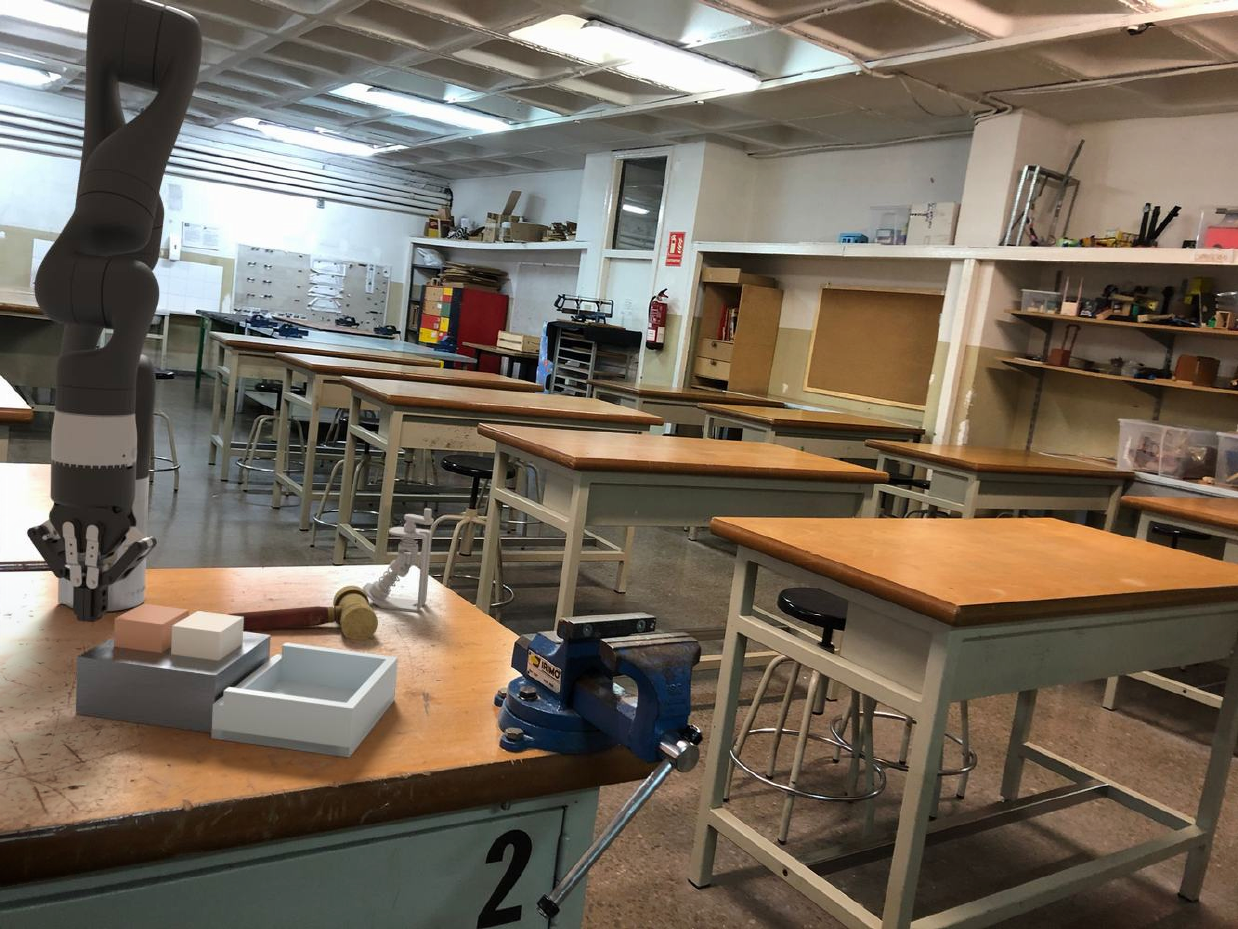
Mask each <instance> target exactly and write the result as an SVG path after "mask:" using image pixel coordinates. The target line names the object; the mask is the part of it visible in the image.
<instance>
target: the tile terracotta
mask: <svg viewBox="0 0 1238 929" xmlns="http://www.w3.org/2000/svg"><path fill="white" fill-rule="evenodd" d="M188 616H190V609H187V608H186V609H185V608H181V607H180V608H178V607H170V606H163V605H155V604H149V603H141V604H139V605H137V606H135V607H133V608H132V609H130V610H129V611H127V612H124V613H123V614H121V615H118V616H117V617H114V631H113V632H114V634H113V637H114V647H122V648H129V649H137V650H144V651H152V652H159V653H162V652H164V651H165V650H167V649H169V648H170V647H171V643H172V626H173V625H174V624H176V623H178V622H180V621H181V620H183V619H185V618H187V617H188Z"/></svg>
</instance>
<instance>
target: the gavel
mask: <svg viewBox="0 0 1238 929" xmlns="http://www.w3.org/2000/svg"><path fill="white" fill-rule="evenodd" d="M332 600H333V602H332V603H333V606H319V605H317V606H307V607H293V608H280V609H270V610H268V609H267V610H258V611H246V612H235V613H234V612H232V613H228V614H227V615H233V616H240V617H244V624H243V631H244V632H257V631H259V630H262V631H271V630H272V631H273V630H286V629H295V628H296V629H298V628H306V627H316V626H318V627H319V626H322V625H325V624H331V623H340V624H339V625H340V628H341V630H342V633H343V635H344V636H345V638H347V639H348V640H367V639H371V638H372V637H373V636H374V635H375V633H376V631H377V629H378V627H379V620H378V616H377V615H376V614H377V613H376V612H375V610H374V609H373V608H372V607H371V606H370V600H369V597H367V595H366V593H365V592H364V591H363V588H361V587H360V586H357V585H347V586H344V587H342V588H340V589H339V590H338V591H337V592H336V593H335V595H334V597H333V599H332Z"/></svg>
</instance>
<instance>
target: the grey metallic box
mask: <svg viewBox="0 0 1238 929" xmlns="http://www.w3.org/2000/svg"><path fill="white" fill-rule="evenodd" d="M271 636H272V635H271V634H266V633H256V632H252V631H244V632H243V643H242V645H240V646H239V647H237V648H236V649H235V650H233V651H232V652H230V653H229V654H228V655H226V656H225V657H223V658H222V659H220V660H219V661H218V660H211V659H203V658H196V657H189V656H181V655H174V654H171V647H170V648H169V649H167V650H165V651H164V652H162V653H159V652H152V651H144V650H137V649H129V648H122V647H114V636H113V637H111V638H109V639H108V640H106V641H104V642H102V643H100V644H98V645H96V646H94V647H93V648H90V649H89V650H87V651H85V652H83V653H81V654H80V655H77V656H76V688H75V689H76V691H75V692H76V693H75V694H76V695H75V715H78V716H84V717H91V718H93V717H94V718H100V719H109V720H114V721H120V722H121V721H122V722H128V723H129V722H130V723H136V724H137V723H138V724H142V725H149V726H150V725H151V726H156V727H157V726H158V727H165V728H171V729H179V730H186V731H187V730H188V731H194V732H201V733H208V734H212V713H213V704H214V703H215V702H216V701H218V700H219V699H220V698H221V697H223V695H224V690H225V689H227V688H228V687H233V688H234V687H235V686H237V685H238V684H239V683H240V682H242V681H243V680H244V679H246V678H247V677H248V676H249V675H251V674H252V673H253V672H254V671H256V670H257V669H258V668H260V667H261V666H262V665H263V664H265V663H266V662H267V661H268V660H270V659H271V657H270V656H271V655H270V654H271V653H270V652H271V639H272V638H271Z"/></svg>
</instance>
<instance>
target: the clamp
mask: <svg viewBox="0 0 1238 929" xmlns="http://www.w3.org/2000/svg"><path fill="white" fill-rule="evenodd" d="M432 511H433V510H432V509H431V508H427V507H425V508H424V510H423V515H419V514H418V515H417V514H414V513H406V514H404V517H403V518H404V520H405V523H404V524H403V526H394V527H391V528H390V529H389V530H388V533H389V534H390V535H393V536H397V537H399V538H400V540H401V541H400V542H399V543H398V549H397V558H396V559H393V560H391V562H390V563H389V566H388V568H387V570H385V571H384V572H383V574H382V575H383V576H379V578H378V580H377V581H374V582H373V583H371V582H367V583H366V584H364V586H362V590H363V591H364V592H365V593H366V595H367V597H368V599H370V600H371V601H372V602H373V603H374V604H376V606H378V607H379V608H381V609H390V610H397V611H398V610H399V611H405V612H412V613H413V612H415V613H418V612H419V611H420V610H421V608H422V607H423V606H424V605H425V604H426V602H427V596H428V584H429V571H430V559H431V547H432V536H433V533H432V531H431V530H430V529H425V528H418V527H417V525H416V524H421V525H425V526H427V525H428V526H431V525H433V524H434V518H432V514H433V512H432ZM402 537H403V538H402ZM416 539H422V541H421V542H422V543H421V544H422V546H421V555H420V568H419V578H418V579H419V580H418V592H417V600H416V599H408V598H402V597H401V598H399V597H391V596H389V595H390V594H391V591H392V590H391V589H392V588H391V587H396V582H400V581H401V579H400V578H399V577H401V578H404V577H406V576H407V575H408V574H409V571H410V569H411V567H413V566H416V565H417V564H418V554H419V544H417V543H418V542H419V541H418V540H416ZM405 551H406V552H405ZM407 551H408V552H410V553H407ZM390 570H391V571H390Z"/></svg>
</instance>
